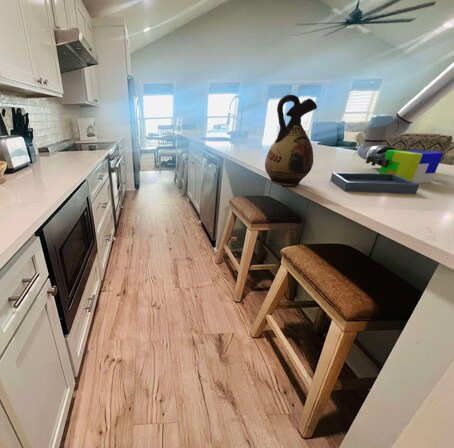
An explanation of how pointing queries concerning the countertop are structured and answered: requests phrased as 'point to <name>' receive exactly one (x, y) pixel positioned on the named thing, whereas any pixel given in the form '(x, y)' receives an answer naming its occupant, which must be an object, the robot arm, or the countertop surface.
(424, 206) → the countertop surface
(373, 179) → the storage tray
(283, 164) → the ceramic jug
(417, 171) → the puzzle toy
